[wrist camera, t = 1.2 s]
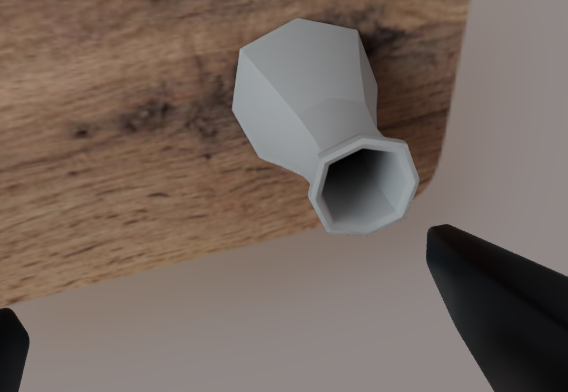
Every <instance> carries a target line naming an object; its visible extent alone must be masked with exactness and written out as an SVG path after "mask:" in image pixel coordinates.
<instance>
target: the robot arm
mask: <svg viewBox="0 0 568 392" xmlns="http://www.w3.org/2000/svg"><path fill="white" fill-rule="evenodd" d="M426 260H427V265H428V267H429V270H430V272H431V274H432V277H433V279H434V281H435V283H436V285H437V287H438V290H439V292H440V294H441V296H442V298H443V301H444V303H445V305H446V307H447V309H448V311H449V314H450V316H451V318H452V320H453V322H454V324H455V326H456V328H457V330H458V332H459V333H460V335H461V337H462V339H463V340H464V342H465V343H466V345H467V347H468V348H469V350H470V352H471V354H472V355H473V357H474V358H475V360H476V362H477V364H478V365H479V367H480V368H481V370H482V372H483V373H484V375H485V377H486V379H487V380H488V382H489V383H490V385H491V387H492V388H493V390H494V392H568V277H567V276H565V275H563V274H561V273H558V272H556V271H554V270H552V269H549V268H547V267H545V266H542V265H540V264H537V263H535V262H533V261H531V260H529V259H526V258H524V257H522V256H520V255H517V254H514V253H513V252H510V251H508V250H506V249H504V248H501V247H499V246H497V245H495V244H492V243H490V242H488V241H485V240H483V239H481V238H478V237H476V236H474V235H472V234H469V233H467V232H465V231H462V230H460V229H458V228H456V227H453V226H451V225H448V224H444V225H439V226H433V227H431V228H430V229H429V230H428V233H427V250H426ZM28 349H29V336H28V333H27V331H26V330H25V328H24V327H23V325H22V324H21V322H20V321H19V319H18V317H17V316H16V314H15V313H14V312H13V310H11V309H9V308H1V309H0V392H18V391H19V387H20V383H21V378H22V374H23V370H24V366H25V362H26V357H27V353H28Z"/></svg>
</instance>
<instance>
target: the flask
mask: <svg viewBox="0 0 568 392" xmlns="http://www.w3.org/2000/svg"><path fill="white" fill-rule="evenodd" d="M377 93H378V88H377V83H376V80H375V77H374V75H373V72H372V69H371V66H370V64H369V61H368V58H367V55H366V53H365V50H364V47H363V44H362V42H361V39H360V36H359V33H358V31H357V30H355V29H350V28H345V27H340V26H335V25H330V24H325V23H320V22H315V21H310V20H305V19H300V18H296V19H294V20H292V21H290V22H288V23H286V24H285V25H283V26H281V27H279V28H277V29H275V30H274V31H272V32H270V33H268V34H266V35H264V36H263V37H261V38H259V39H257V40H255V41H253V42H251V43H250V44H248V45H246V46H244V47H242V48H240V53H239V61H238V68H237V75H236V83H235V90H234V97H233V105H232V111H233V113H234V115H235V116H236V118H237V120H238V122H239V123H240V125H241V127H242V129H243V130H244V132H245V134H246V136H247V137H248V139H249V141H250V142H251V144H252V146H253V148H254V149H255V151H256V153H257V155H258V156H259V158H261V159H263V160H266V161H268V162H271V163H274V164H277V165H280V166H282V167H284V168H286V169H288V170H291V171H293V172H295V173H297V174H299V175H301V176H303V177H305V178H306V180H307V181H308V182H309V183H310V188H309V192H308V198H309V200H310V202H311V203H312V205H313V207H314V209H315V211H316V213H317V215H318V217H319V218H320V220H321V222H322V224H323V226H324V228H325V230H326V231H327V233H337V234H347V235H358V236H369V235H371V234H373V233H375V232H377V231H379V230H381V229H384V228H386V227H388V226H390V225H392V224H394V223H396V222H399V221H401V220H403V219H405V218H406V216H407V213H408V210H409V208H410V205H411V203H412V200H413V197H414V195H415V192H416V189H417V187H418V184H419V182H420V180H419V177H418V174H417V171H416V168H415V165H414V163H413V160H412V157H411V154H410V151H409V148H408V145H407V144H406V142H405V141H403V140H400V139H394V138H387V137H384V136H383V135H382V134H381V133H380V132H379V131H378V130H377V115H376V106H377Z"/></svg>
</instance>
